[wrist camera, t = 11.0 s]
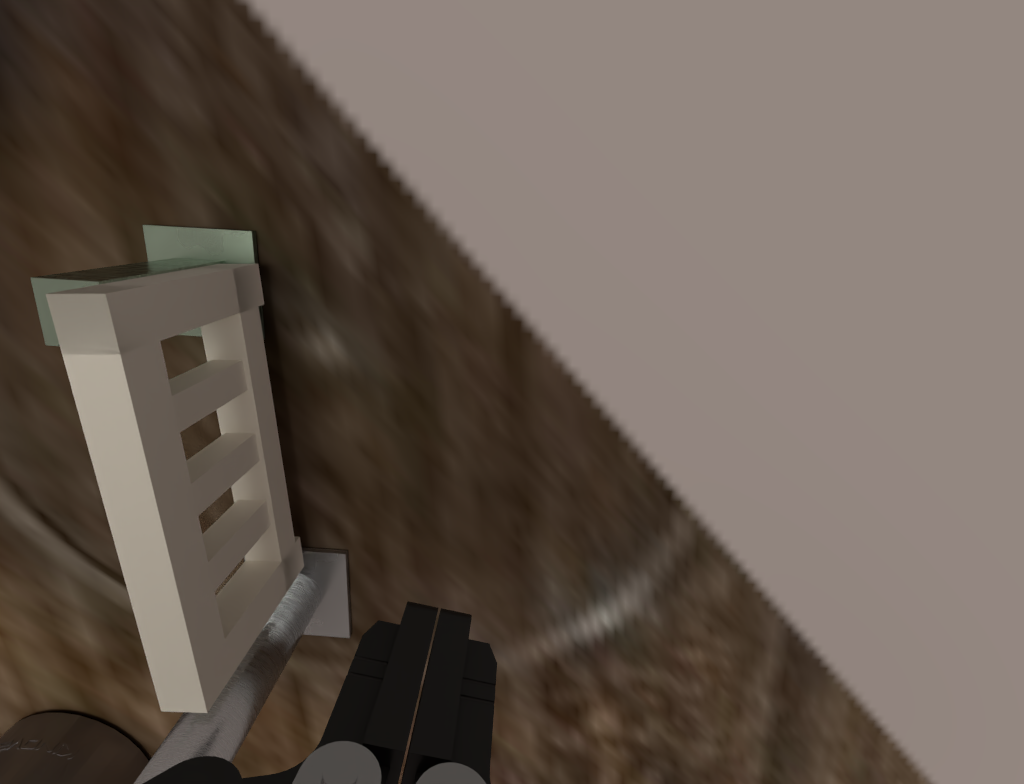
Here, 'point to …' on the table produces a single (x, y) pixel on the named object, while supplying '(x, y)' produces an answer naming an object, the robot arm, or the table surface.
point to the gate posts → (309, 601)
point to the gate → (184, 466)
